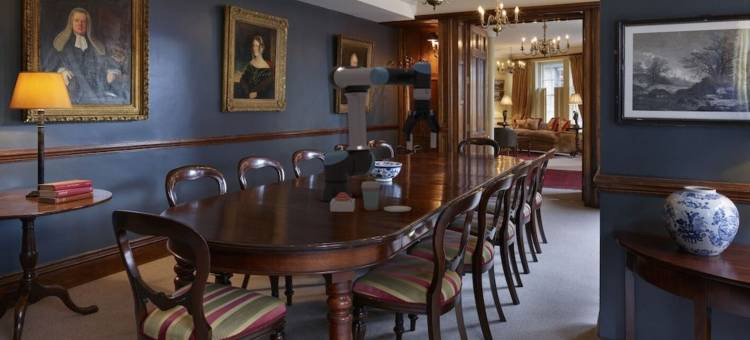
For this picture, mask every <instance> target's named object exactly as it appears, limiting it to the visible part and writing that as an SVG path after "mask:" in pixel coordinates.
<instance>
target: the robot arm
mask: <svg viewBox="0 0 750 340" xmlns="http://www.w3.org/2000/svg"><path fill="white" fill-rule="evenodd" d="M327 82H328V84H329V85H330V86H331V87H332V88H333V89H335V90H339V91H343V94H344V96H345V97H346V98H347V116H348V117H347V118H348V137H349V138H348V139H349V141H348V143H349V145H348V147H347V148H346V150H334V151H329V152H327V153H325V155H324V156H323V179H324V180H323V181H324V184H323V188H322V190H321V194H320V200H321V201H324V202H329V203H330V202H331V201H332V199H335V197H337V196H338V194H340V193H342V192H344V193H346V194H348V196H350V198H352V199H353V194H352V191H351V188H350V184H349V177H359V176H360V177H361V176H362V177H363V176H366V175H370V174H371V173H372V172H373V171H374V169H375V167H376V157H375V155H374V153H373V152H371V148H370V147H369V146H368V145H367V144H368V143H367V142H368V141H367V120H366V96H367V95H368V92H369V90H370V89H371V86H401V87H402V86H403V87H406V86H413V91H412V92H413V94H412V95H413V96H412V97H413V100H412V101H413V102H412V103H413V105H412V106H413V109H414V110H408V111H407V117H406V120H405V122H404V124H403V127H402V129H401V132H402V133H403V134H405V141H406V150H413V133H412V132H413V131H414V129H415V127H416V126H417V124H418V123H419V122H426V125H428V128H429V129H430V131H431V132H430V148H431V149H432V148H434V149H435V148H437V141H438V133H440V132H441V131H442V129H441V126H440V123H439V121H438V120H439V119H438V118H437V112H436V110H434V109H431V108H432V101H431V97H432V64H431V63H430V62H428V61H427V62H426V61H425V62H423V61H421V62H414V64H413V66H412V67H388V66H387V67H383V66H375V67H363V66H357V65H356V66H355V65H353V66H352V65H336V66H334V67H332V68H331V69H330V70H329V71H328V74H327Z"/></svg>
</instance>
